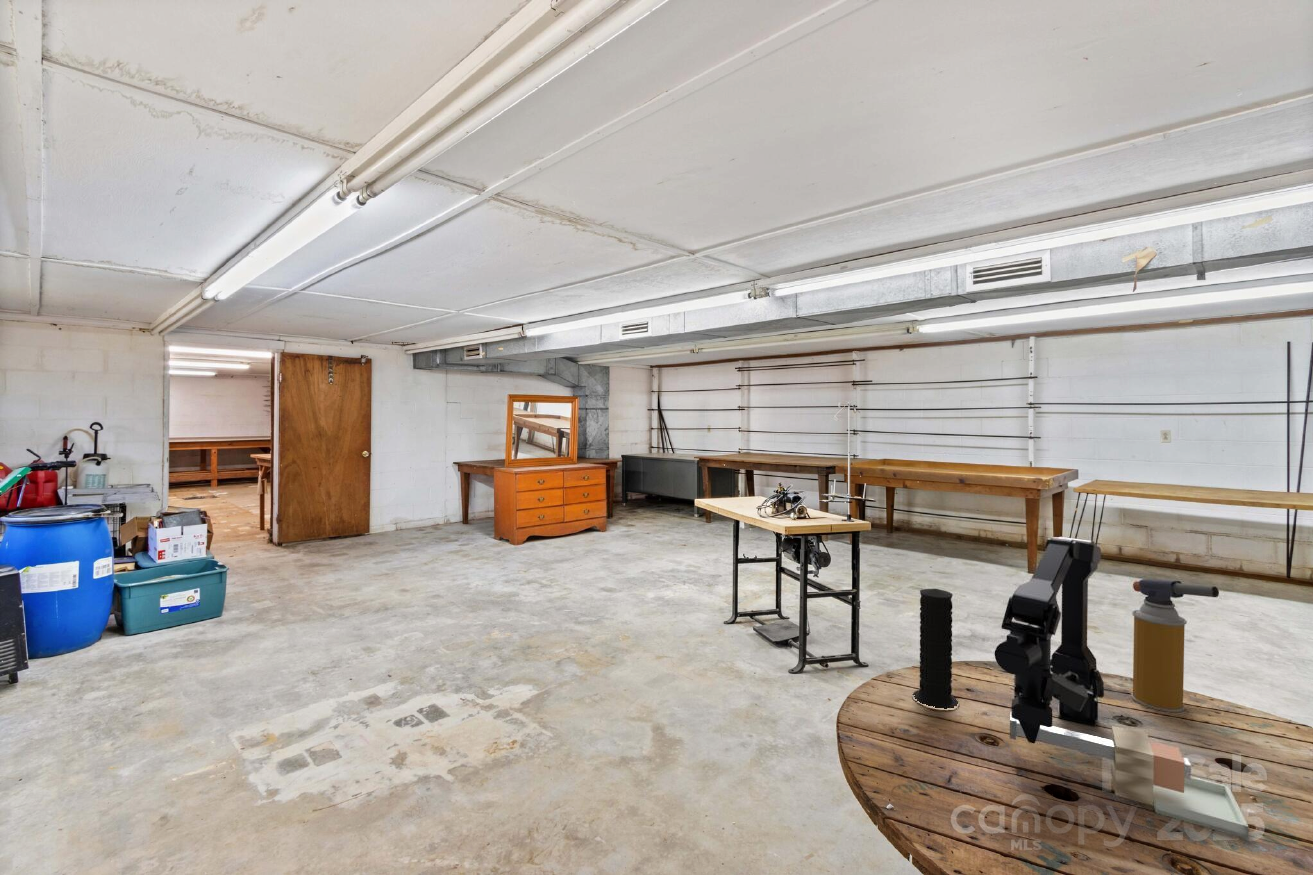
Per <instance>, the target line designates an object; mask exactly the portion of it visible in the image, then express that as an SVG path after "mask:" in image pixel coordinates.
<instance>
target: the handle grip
mask: <svg viewBox="0 0 1313 875" xmlns="http://www.w3.org/2000/svg"><path fill="white" fill-rule="evenodd" d="M919 594H920V598H919V604H920V608H919V611H920V612H919V619H920V621H919V624H920V625H919V632H920V634H919V638H920V639H919V651H920V652H919V678H920V679H919V689H917V690H915V691H914V692H913V693H912V695H915V696H914V697H915V699H917V701H919V702H920V703H922V704H926V705H928V706H933V707H934V706H935V708H944V709H947V708H954V706H957V704H958V702H959V701H957V700H958V699H957V698H956V697H954V696H953V694H952V692H953V687H952V683H953V680H952V678H953V672H952V669H953V666H952V664H953V658H952V656H953V652H952V651H953V638H952V637H953V630H952V628H953V616H952V615H953V611H952V610H953V602H952V598H953V593H951V592H950V591H947V590H944V589H940V588H939V589H938V588H923V589H920V591H919ZM956 699H957V700H956Z"/></svg>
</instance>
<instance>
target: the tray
mask: <svg viewBox="0 0 1313 875" xmlns="http://www.w3.org/2000/svg"><path fill="white" fill-rule="evenodd" d="M1153 808H1154V813H1156V814H1159V815H1163V816H1167V817H1170V818H1174V819H1177V820H1181V821H1183V822H1187V823H1191V824H1195V825H1198V826H1200V827H1205V828H1208V829H1212V830H1215V831H1218V832H1222V833H1225V834H1229V835H1232V836H1236V837H1239V838H1240V837H1241V838H1243V839H1246V840H1249V825H1248V822H1247V821H1246V818H1245V817H1244V814H1243V813H1242V811H1241V809H1240V807H1239V805H1238V802H1237V800H1236V798H1235V797H1234V794H1233V792H1232V791H1231V788H1230V787H1229V785H1227V784H1222V783H1218V782H1214V781H1210V780H1208V779H1203V778H1198V777H1195V776H1192V775H1191V780H1190V779H1186V778H1184V793H1182V792H1178V791H1174V790H1170V789H1167V788H1163V787H1159V786H1155V785H1153Z"/></svg>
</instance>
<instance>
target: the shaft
mask: <svg viewBox="0 0 1313 875" xmlns="http://www.w3.org/2000/svg"><path fill="white" fill-rule="evenodd" d="M1009 715H1010V717H1009V739H1011V740H1015V741H1016V740H1017V737H1021V738H1026V736H1025V734H1024V731H1023V729H1022V727H1021V725H1020V723H1019V721H1018V720H1016V719H1014V718H1012V717H1011V714H1009ZM1026 739H1027V738H1026ZM1036 741H1038V742H1042V743H1044V744H1045V743H1046V744H1049V745H1053V746H1057V747H1060V748H1065V749H1069V750H1073V751H1078V752H1081V753H1085V754H1088V755H1093V756H1097V757H1100V758H1104V759H1109V760H1110V761H1111V760H1115V745H1114V741H1112V739H1107V738H1104V737H1099V736H1096V735H1095V736H1094V735H1091V734H1087V733H1082V732H1078V731H1074V730H1070V729H1066V728H1061V727H1057V726H1053V725H1052V727H1045V726H1041V725H1040V728H1039V731H1038V735H1037V738H1036ZM1183 760H1184V762H1185V775H1184V778H1186V779H1190V780H1191V776H1192V774H1191V773H1192V765H1191V763H1190V761H1189V758H1186V757H1183Z"/></svg>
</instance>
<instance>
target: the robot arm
mask: <svg viewBox="0 0 1313 875" xmlns="http://www.w3.org/2000/svg"><path fill="white" fill-rule="evenodd" d="M1101 550H1102V549H1101V547H1100V546H1098V545H1096V544H1095V541H1094V540H1088V539H1080V538H1075V537H1074V538H1072V537H1065V536H1059V537H1056V536H1052V537H1048V538H1047V539H1046V544H1045V550H1044V552H1043V555H1042V556H1041V559H1040V560H1039V562H1038V564H1037V566H1036V568H1035V571H1034V572H1033V574H1032V576H1031V578H1030V580H1029V581H1027V582H1025V583H1022V584H1020V585H1018V587H1017V588H1016V589H1015V591H1014V592H1013V594H1012V595H1010V596H1009V598H1008V602H1007V605H1006V608H1005V612H1004V616H1003V619H1002V623H1001V627H1000V628H1001V629H1002V630H1005V631H1009V633H1008V634H1006V639H1005V640H1003V641H1002V642H1001V643H999V644H998V645H997V646H996V648H995V650H994V658H995V662H996V663H997V664H998V666H999V667H1000V668H1001V669H1002V670H1003V671H1004V672H1006V673H1008V674H1010V675H1014V678H1013V680H1014V682H1013V684H1014V685H1013V686H1014V687H1013V699H1011V710H1010V715H1011V717H1012V718H1014V719H1016V720H1018V721H1019V723H1020V725H1021V727H1022V729H1023V731H1024V734H1025V736H1026V741H1027V742H1028V743H1030V744H1036V741H1037V740H1036V738H1037V735H1038V731H1039V728H1040V725H1041V726H1045V727H1052V726H1053V708H1052V707H1051V705H1052V704H1051V702H1053V698H1054V699H1056V700H1057V701H1058V704H1057V712H1058V718H1059V719H1063V720H1067V721H1072V722H1075V723H1081V724H1085V725H1088V726H1092V727H1093V726H1094V727H1096V721H1098V720H1099V702H1098V700H1099V699H1098V698H1104V697H1105V687H1104V684H1105V681H1104V680H1103V677H1102V675H1101V672H1100V670H1099V669H1097V658H1096V657H1095V656H1094V654H1093V652H1092V651H1091V649H1090V647H1089V646H1088V615H1089V614H1088V612H1089V611H1088V609H1089V608H1088V605H1089V603H1088V602H1089V601H1088V600H1089V598H1088V597H1089V589H1088V588H1089V579H1090V577H1092V576H1093V575H1094V573H1095V572H1096V570H1098V564H1100V562H1101V558H1102V551H1101ZM1060 589H1061V611H1060V608H1059V604H1058V599H1057V596H1058V593H1059V591H1060ZM1013 619H1014V621H1012V620H1013ZM1060 619H1061V626H1060V627H1061V630H1060V631H1061V632H1060V633H1061V637H1060V638H1061V641H1060V642H1061V643H1060V645H1059V646H1058V647H1057V648H1056V649H1055V650H1054V652H1053V653H1051V652H1052V651H1051V650H1052V649H1051V648H1052V647H1051V644H1052V643H1051V642H1052V640H1051V639H1052V636H1055V635H1056V633H1057V630H1058V627H1059V623H1060ZM1051 654H1052V655H1051Z"/></svg>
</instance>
